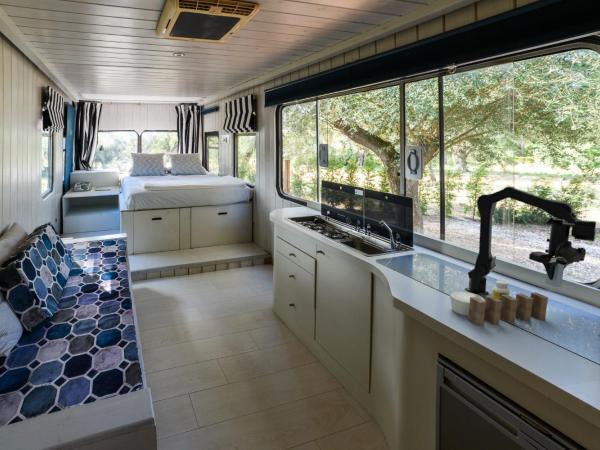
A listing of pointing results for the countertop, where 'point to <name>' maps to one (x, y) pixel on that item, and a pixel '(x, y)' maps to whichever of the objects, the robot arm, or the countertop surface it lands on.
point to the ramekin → (462, 302)
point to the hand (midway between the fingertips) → (553, 279)
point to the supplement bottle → (500, 289)
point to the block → (556, 276)
